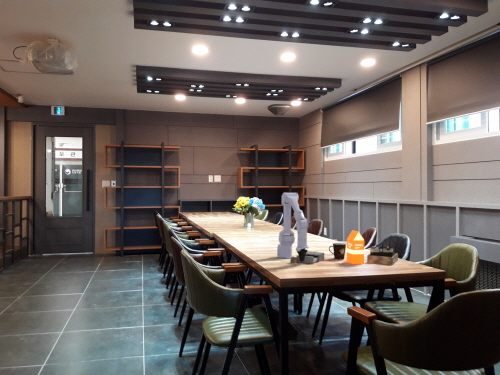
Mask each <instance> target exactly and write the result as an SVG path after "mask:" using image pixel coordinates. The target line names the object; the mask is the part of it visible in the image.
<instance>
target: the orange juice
mask: <svg viewBox="0 0 500 375" xmlns="http://www.w3.org/2000/svg"><path fill="white" fill-rule="evenodd" d="M347 262H348V263H350V264H352V265H360V264H361V265H362V264H365V239H364V237H363V236H362V234H361V233H360V231H357V230H354V229H353V230H351V232H350V233H349V235H348V236H347V238H346V263H347Z"/></svg>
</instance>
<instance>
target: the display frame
mask: <svg viewBox="0 0 500 375" xmlns="http://www.w3.org/2000/svg"><path fill="white" fill-rule="evenodd" d="M366 257H367V258H366V261H367V263H370V264H377V265H378V264H380V265H387V264H388V265H389V266H393V265H394V264H395V263H397V262H398V260H399V253H398V252H397V253H396V252H393V257H382V256H371V255H370V253H369V254H367V256H366Z"/></svg>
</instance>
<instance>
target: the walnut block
mask: <svg viewBox="0 0 500 375" xmlns="http://www.w3.org/2000/svg"><path fill="white" fill-rule="evenodd" d="M289 261H290V264H297V263H298V262H297V256H294V257H291V258H290V259H289Z"/></svg>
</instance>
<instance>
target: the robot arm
mask: <svg viewBox="0 0 500 375" xmlns="http://www.w3.org/2000/svg"><path fill="white" fill-rule="evenodd" d="M281 205H283V228H282V230H281V231H279V233H278V234H279V235H278V242H279V243H278V244H277V247H276V248H277V249H276V250H277V252H276V254H277V256H276V258H280V259H289V260H290V259H291V257H295V256H293V245H294V243H295V241H296V236H295V232H294V231H292V210H293V211H294V212H293V217H294V219H295V221H296V222H295V227H296V232H297V246H296V248H295V251H296V253H297V255H299V259H300V262H299V263H303V262H304V259H305V255H306V253H307V251H309V250H308V249H309V248H310V246H309V245H308V229H309V226H310V223H309V220H308V219H307V218H306V217H305V215H304V212H303V210H301V209H300V205H299V194H298V192H283V193H282V195H281Z"/></svg>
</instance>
